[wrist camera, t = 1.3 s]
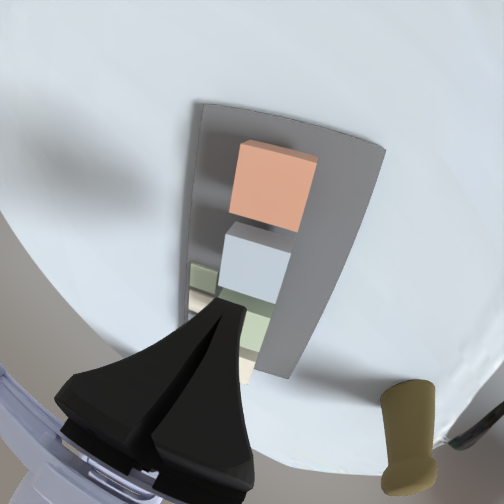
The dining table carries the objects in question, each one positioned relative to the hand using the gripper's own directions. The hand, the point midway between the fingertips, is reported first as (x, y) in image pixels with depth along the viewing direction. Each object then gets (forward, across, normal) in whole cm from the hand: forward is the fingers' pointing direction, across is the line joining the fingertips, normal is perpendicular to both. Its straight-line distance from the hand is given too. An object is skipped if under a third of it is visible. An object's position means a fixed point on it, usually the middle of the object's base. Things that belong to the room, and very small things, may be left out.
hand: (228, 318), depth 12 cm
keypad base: (+8, 0, +2) cm, 8 cm away
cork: (+8, -18, +12) cm, 23 cm away
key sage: (+5, 0, +5) cm, 7 cm away
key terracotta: (+5, 0, -5) cm, 7 cm away
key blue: (+5, 0, 0) cm, 5 cm away
